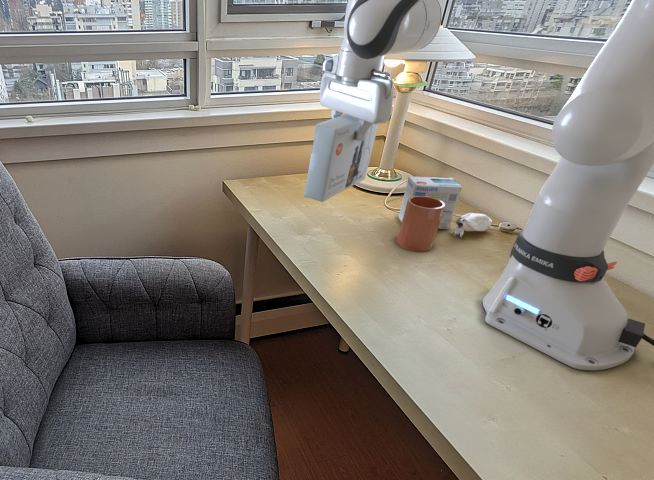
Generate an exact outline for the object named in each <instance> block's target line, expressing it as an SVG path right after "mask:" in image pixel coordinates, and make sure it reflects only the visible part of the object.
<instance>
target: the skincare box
mask: <svg viewBox="0 0 654 480" xmlns="http://www.w3.org/2000/svg"><path fill="white" fill-rule="evenodd" d="M359 121H360V119H358V118H355V117H353V116H350V115H347V114H342V115H341V116H339V117H336V118H333V119H332V118H330V119H328V120H325V121H322V122H319V123H316V124H315V131H314V135H313V142H312V146H311V147H312V148H311V153H310V160H309V165H308V170H307V176H306V181H305V186H304V192H303V197H304V198H307V199H312V200H313V201H318V202H321V203H323V202H325V201H327V200H329V199H331V198H333V197H334V196H335V197H336V195H338V194H340V193H342V192H343V191H346V190H347V189H350V188H351V187H353V186H355V185H357V184H358V183H360V182H362V181H364V180H365V179H366V177H367V173H368V170H369V169H368V168H369V165H370V160H371V157H372V153H373V148H374V145H375V140H376V136H377V131H378V128H379V124H373V123H372V124H371V126H370V127H369V129H368V130H367V132H366V133H365V138H364V140H363V141H357V140H354V134H355V131H358V129H359V127H360V126H361V125H360V124H359Z"/></svg>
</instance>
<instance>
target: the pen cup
mask: <svg viewBox="0 0 654 480" xmlns="http://www.w3.org/2000/svg"><path fill="white" fill-rule="evenodd" d="M444 207H445V203H444V202H442V201H441V200H439V199H436V198H433V197H428V196H412V197H410V198H408V201H407V204H406V208H405V212H404V216H403V220H402V222H400V223H401V224H400V227H399V228H400V229H399V231H398V236H397V239H396V243H397V245H399V246H400V247H402V248H404V249H406V250H409V251H413V252H428V251H430V250H432V248H433V245H434V242H435V239H436V236H437V233H438V230H439V229H438V226H439V223H440V220H441V217H442V214H443V210H444Z"/></svg>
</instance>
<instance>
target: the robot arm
mask: <svg viewBox="0 0 654 480" xmlns="http://www.w3.org/2000/svg"><path fill="white" fill-rule="evenodd" d="M441 7H442V6H441V4H440V1H439V0H347V4H346V9H345V14H344V21H343V33H344V34H343V40H342V42H341V45H340V49H339V54H338V55H335V56H333V57H330V58H327V59H325V60H323V62H322V71H323V72H324V73H323V74H322V76H321V79H320V80H321V81H320V86H319V95H318V100H319V104H320V106H322V107H325V108H327V109H330V110H331V113H330V115H331V119H333V118H336V117H339V116H342V115H345V114H347V115H350V116H353V117H355V118H358V119H360V121H359V124H360V125H361V126H360V127H359V129H358V131H355V134H354V140H357V141H363V140H364V138H365V133H366V132H367V130H368V129H369V127H370V126H371V124H372V123H373V124H378V125H380V124H386V123H387V122H388V121H389V120H390V119H391V116H392V111H393V104H394V103H393V102H394V85H395V81H394V80H393V77H392V76H391V73H390V72H387V71H382V70H383V65H384V61H385V56H388V55H389V56H390V55H397V54H398V55H399V54H403V53H404V54H406V53H411V52H415V51H418V50H421V49H424V48H426V47H427V46H429V44H430V43H431V42H433V40H434V39H435V38H436V36H437V34H438V32H439V30H440V27H441V24H442V8H441ZM551 140H552V145H553V147H554V149H555V151H556V153H558V155H559V156H560V158H559V160H558V162H557V163H556V164H555V166H554V168H553V169H552V171H551V173H550V175H549V176H548V177H547V179H546V180H545V182H544V183H543V184H542V186H541V188H540V189H539V192H538V194H537V197H536V199H535V202H534V203H533V206H532V209H531V211H530V213H529V216H528V218H527V220H526V223H525V225H524V227H523V229H522V230H520V231H519V233H518V235H517V237H516V238H515V241H514V243H513V245H512V248H511V250H510V255H509V260H508V262H507V264H506V266H505V267H504V269H503V271H502V273H501V274H500V276H499V277H498V279H497V280H496V282H495V283H494V285H493V286H492V288H491V289H490V290H489V291H488V293H486V294H485V295H484V297H483V298H482V306H483V309H484V310H485V313H486V315H485V317H484V322H485V323H487V325H489V326H491V327H493V328H495V329H497V330H499V331H501V332H503V333H505V334H506V335H508V336H510V337H512V338H514V339H516V340H518V341H520V342H522V343H523V344H526V345H528V346H530V347H532V348H533V349H535V350H537V351H540V352H541V353H543V354H545V355H547V356H549V357H550V358H553V359H555V360H557V361H559V362H561V363H563V364H564V365H566V366H569V367H571V368H573V369H575V370H581V371H602V370H608V369H611V368H615V367H618V366H620V365H622V364H624V363H626V362H628V361H629V360H630V359H631V358H632V357H633V355H634V353H635V351H636V349H635V348H637V346H638V345H639V343H640V342H641V341H642V340H644V341H645V342H647V343H648V344H650V345H651V346H653V347H654V338H651V337H650V336H648V335H647V334H645V333H644V332H645V327H646V323H645V322H642V321H639V320H635V319H632V318H629V314H628V312H627V310H626V309H625V307H624V306H623V304H622V303H621V302H620V301H619V299H618V298H617V296H616V294H615V293H614V292H613V290H612V288H611V287H610V285H609V284H608V283H607V281H606V279H605V278H604V277H605V275H606V273H607V271H610V270H613V269H614V268H615V266H616V265H617V263H618V261H611V262H608V263H607V260H606V257H605V250H604V249H605V247H606V245H607V244H608V242H609V241H610V240H609V239H610V238H611V237H612V235H613V232H614V231H615V229H616V227H617V225H618V223H619V221H620V219H621V218H622V216H623V214H624V212H625V210H626V209H627V206H629V203H630V201H631V200H632V198H633V197H634V195H635V194H636V192H637V191H638V189H639V188H640V186H641V184H642V183H643V182H644V180H645V178H646V177H647V175H648V173H649V172H650V170H651V169H652V166H653V165H654V0H631V2H630V4H629V5H628V7H627V8H626V11H625V12H624V14H623V16H622V18H621V19H620V21H619V22H618V24H617V25H616V27H615V29H614V30H613V32H612V33H611V34H610V36H609V37H608V39H607V40H606V42H605V43H604V44H603V46H602V48H601V49H600V50H599V52H598V53H597V55H596V56H595V58H594V59H593V61H592V62H591V64H590V65H589V66H588V69H587V70H586V72H585V73H584V75H583V76H582V77H581V80H580V81H579V83H578V84H577V86H576V88H575V89H574V90H573V92H572V94H571V96H570V98H568V100H567V101H566V103H565V104H564V105H563V107H562V108H561V109H560V111H559V112H558V114H557V116H556V117H555V119H554V121H553V124H552V127H551Z"/></svg>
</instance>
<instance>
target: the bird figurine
mask: <svg viewBox="0 0 654 480" xmlns="http://www.w3.org/2000/svg"><path fill="white" fill-rule="evenodd" d="M454 222H455V224H456V227H455V228H453V229H451V232H450V234H451V235H452V234H454V235H458V236H459V237H460V238H463V236H464V232H485V231H486V230H493V229H495V227H494V226H492V224H493V220H492V219H491V218H490V217H489V216H488V214H484V213H475V212H468V213H465V214H463V215H459V216H458V217H457V218H456V219H455V221H454Z"/></svg>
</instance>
